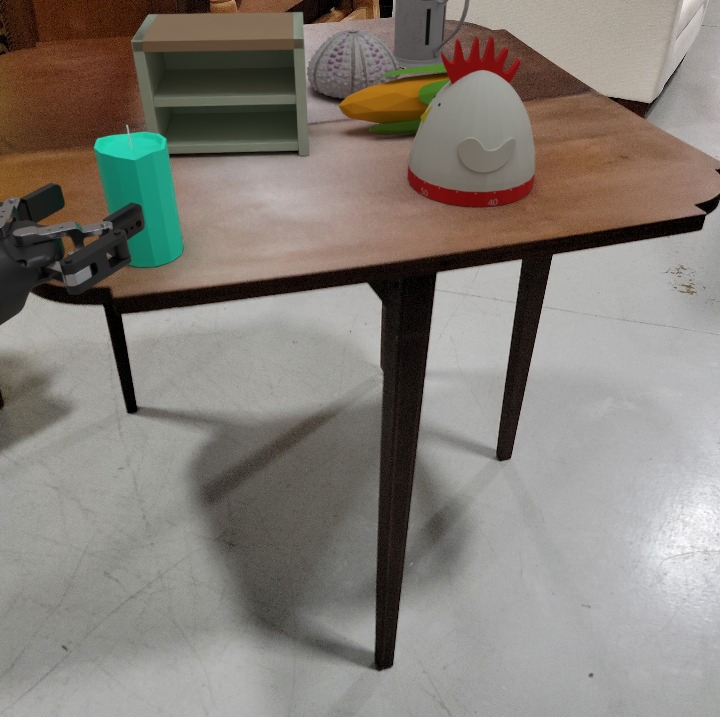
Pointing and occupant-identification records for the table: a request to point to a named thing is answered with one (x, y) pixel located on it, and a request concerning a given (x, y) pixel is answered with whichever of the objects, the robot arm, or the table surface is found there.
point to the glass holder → (421, 31)
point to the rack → (224, 81)
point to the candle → (142, 192)
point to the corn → (396, 100)
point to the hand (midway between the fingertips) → (99, 203)
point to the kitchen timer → (474, 135)
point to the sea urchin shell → (350, 64)
